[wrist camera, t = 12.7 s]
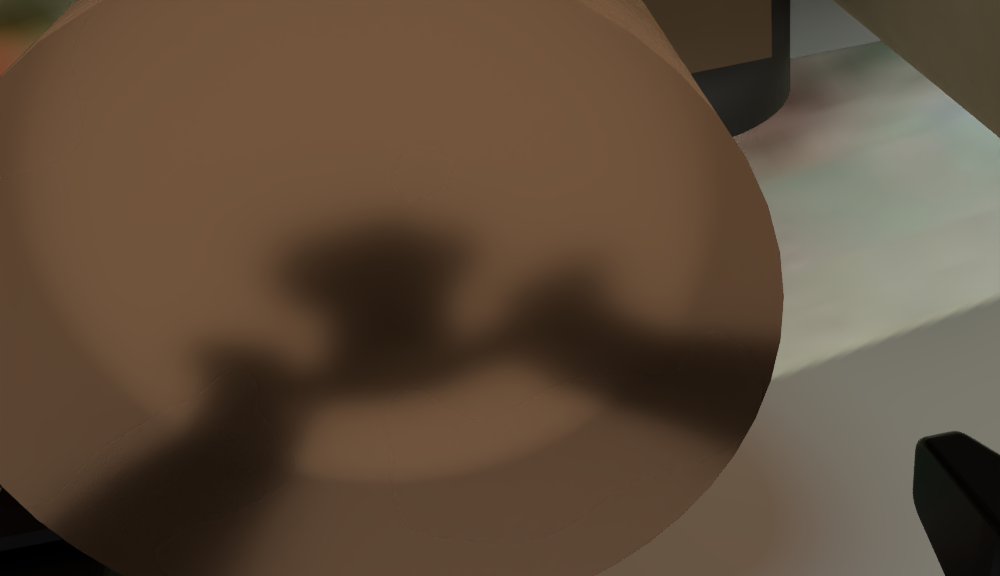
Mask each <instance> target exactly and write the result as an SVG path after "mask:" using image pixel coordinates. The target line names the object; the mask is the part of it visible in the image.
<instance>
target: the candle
mask: <svg viewBox="0 0 1000 576" xmlns="http://www.w3.org/2000/svg"><path fill="white" fill-rule="evenodd" d="M833 1H834V2H836V3H837V4H838V5H839V6H840V7H842V8H843V9H844V10H845V11H846V12H848V13H849V14H850V15H851V16H852V17H854V18H855V19H856V20H857V21H859V22H860V23H861V24H862V25H863V26H865V27H866V28H867V29H868V30H869V31H871V32H872V33H873V34H874V35H876V36H877V37H878V38H879V39H880V40H882V41H883V42H884V43H885V44H886V45H888V46H889V47H890V48H891V49H893V50H894V51H895V52H896V53H897V54H899V55H900V56H901V57H902V58H903V59H905V60H906V61H907V62H908V63H910V64H911V65H912V66H913V67H914V68H916V69H917V70H918V71H919V72H920V73H922V74H923V75H924V76H925V77H927V78H928V79H929V80H930V81H931V82H933V83H934V84H935V85H936V86H937V87H939V88H940V89H941V90H942V91H944V92H945V93H946V94H947V95H948V96H950V97H951V98H952V99H953V100H954V101H956V102H957V103H958V104H959V105H961V106H962V107H963V108H964V109H965V110H967V111H968V112H969V113H970V114H971V115H973V116H974V117H975V118H976V119H978V120H979V121H980V122H981V123H982V124H984V125H985V126H986V127H987V128H988V129H990V130H991V131H992V132H993V133H995V134H996V135H997V136H998V137H999V138H1000V0H833Z"/></svg>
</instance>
